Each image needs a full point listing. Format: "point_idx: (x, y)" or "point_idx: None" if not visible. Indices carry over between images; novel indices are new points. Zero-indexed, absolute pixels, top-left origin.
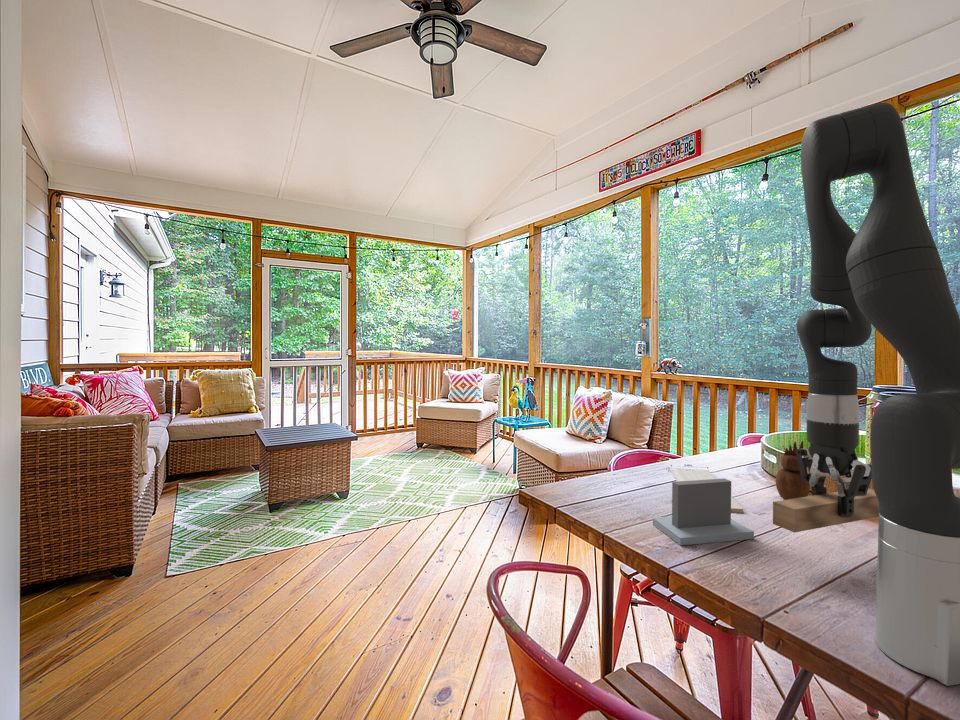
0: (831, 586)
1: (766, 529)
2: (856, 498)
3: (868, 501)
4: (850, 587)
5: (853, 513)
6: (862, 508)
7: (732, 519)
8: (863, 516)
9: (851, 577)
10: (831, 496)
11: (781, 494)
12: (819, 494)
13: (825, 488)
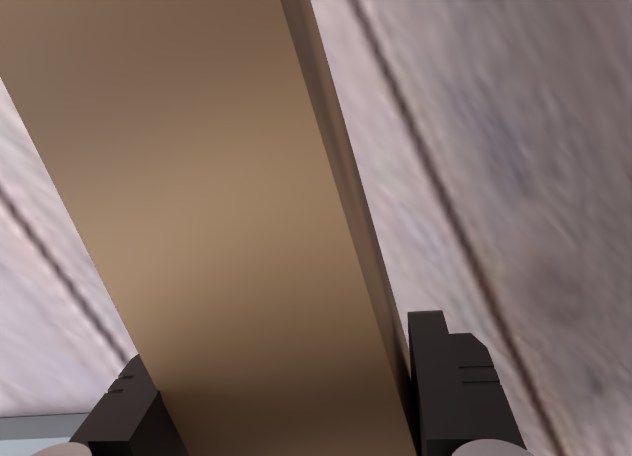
0: (557, 399)
1: (66, 305)
2: (333, 225)
3: (294, 14)
4: (579, 345)
5: (365, 224)
6: (329, 112)
7: (37, 440)
8: (332, 89)
9: (516, 285)
10: (252, 412)
11: None
12: (181, 452)
13: (134, 441)
